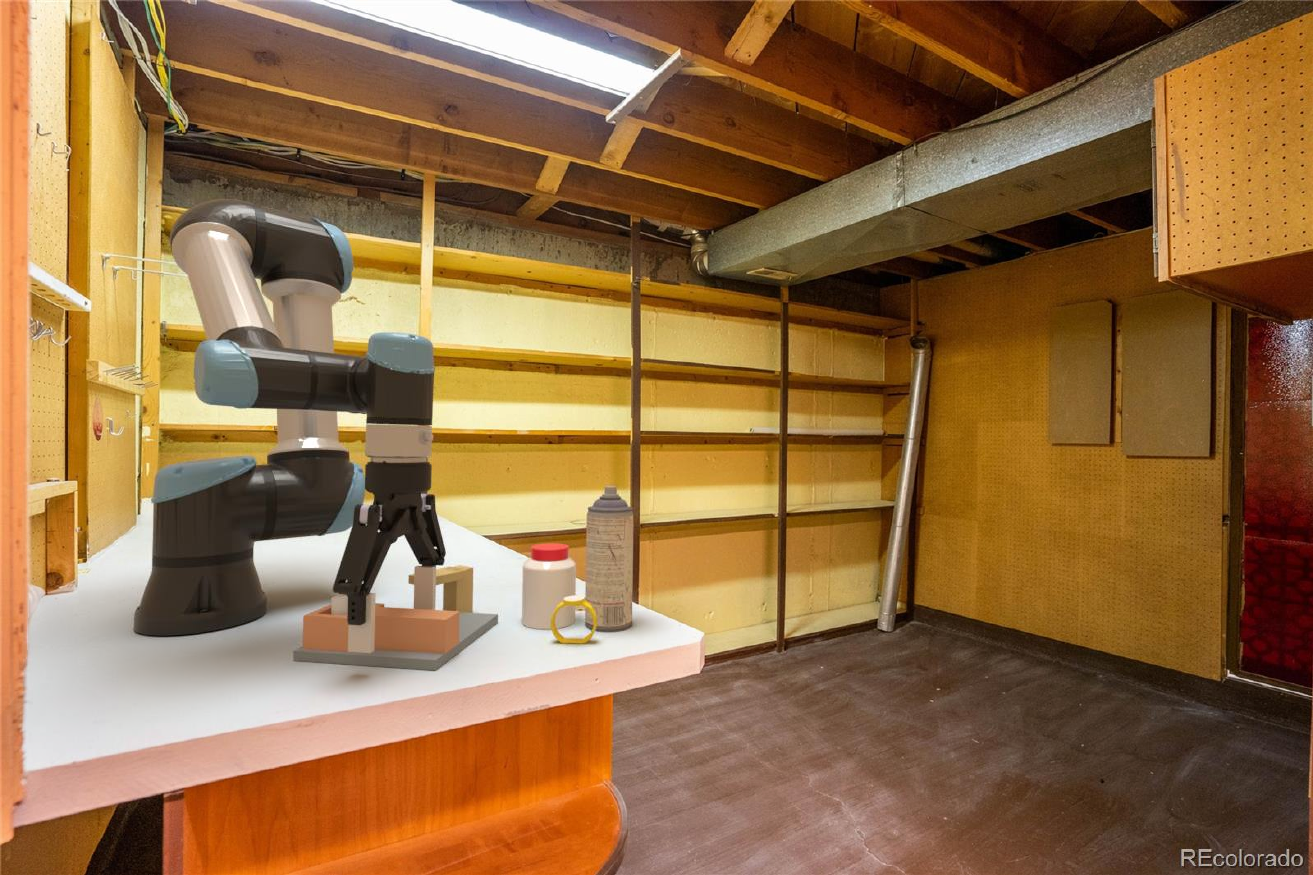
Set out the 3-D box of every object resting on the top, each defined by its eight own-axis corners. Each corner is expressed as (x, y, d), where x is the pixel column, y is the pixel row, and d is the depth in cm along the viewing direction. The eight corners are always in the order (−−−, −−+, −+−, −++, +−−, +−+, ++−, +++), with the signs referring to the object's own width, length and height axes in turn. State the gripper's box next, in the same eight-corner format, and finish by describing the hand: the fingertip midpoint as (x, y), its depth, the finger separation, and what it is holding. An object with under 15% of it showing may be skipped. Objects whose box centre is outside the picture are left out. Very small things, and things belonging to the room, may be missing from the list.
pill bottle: (564, 631, 82) (565, 552, 82) (512, 627, 83) (513, 549, 83) (582, 615, 89) (583, 543, 89) (534, 611, 91) (535, 540, 91)
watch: (550, 647, 76) (548, 602, 76) (554, 640, 79) (551, 596, 79) (596, 645, 76) (594, 599, 76) (598, 638, 79) (596, 593, 79)
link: (302, 649, 70) (303, 615, 70) (338, 631, 77) (338, 601, 77) (439, 658, 68) (439, 623, 68) (464, 639, 74) (464, 608, 74)
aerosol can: (641, 624, 85) (643, 487, 85) (606, 635, 80) (608, 489, 80) (610, 614, 90) (612, 484, 90) (575, 624, 85) (577, 486, 85)
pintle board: (293, 660, 70) (294, 600, 70) (397, 608, 91) (398, 562, 91) (435, 670, 67) (436, 607, 67) (508, 614, 89) (508, 567, 89)
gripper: (364, 465, 60) (360, 674, 60) (472, 457, 84) (469, 604, 84) (297, 463, 61) (293, 668, 61) (423, 455, 85) (420, 601, 85)
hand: (395, 631), depth 72 cm, fingers open, 13 cm apart
